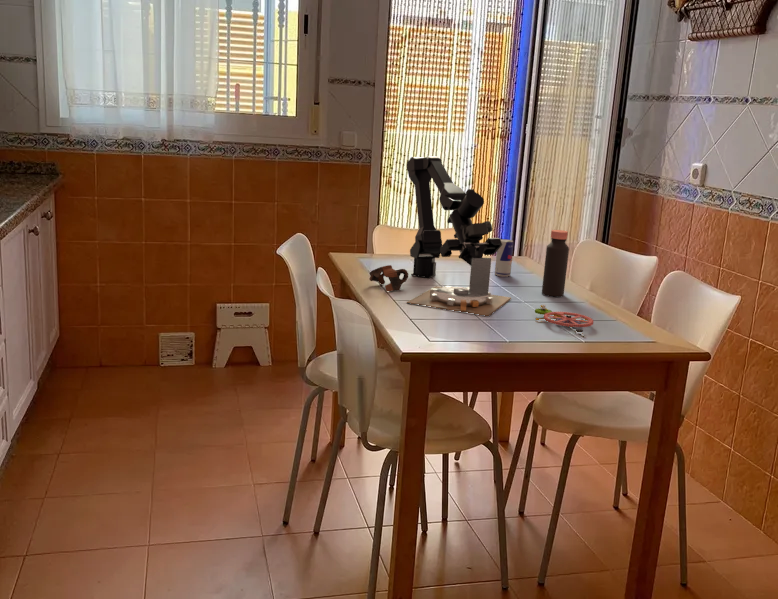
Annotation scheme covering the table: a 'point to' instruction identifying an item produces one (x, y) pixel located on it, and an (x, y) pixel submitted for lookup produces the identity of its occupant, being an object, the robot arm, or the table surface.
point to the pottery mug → (391, 274)
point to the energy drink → (504, 258)
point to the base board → (457, 307)
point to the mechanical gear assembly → (564, 318)
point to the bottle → (555, 264)
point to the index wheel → (471, 294)
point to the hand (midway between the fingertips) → (480, 271)
